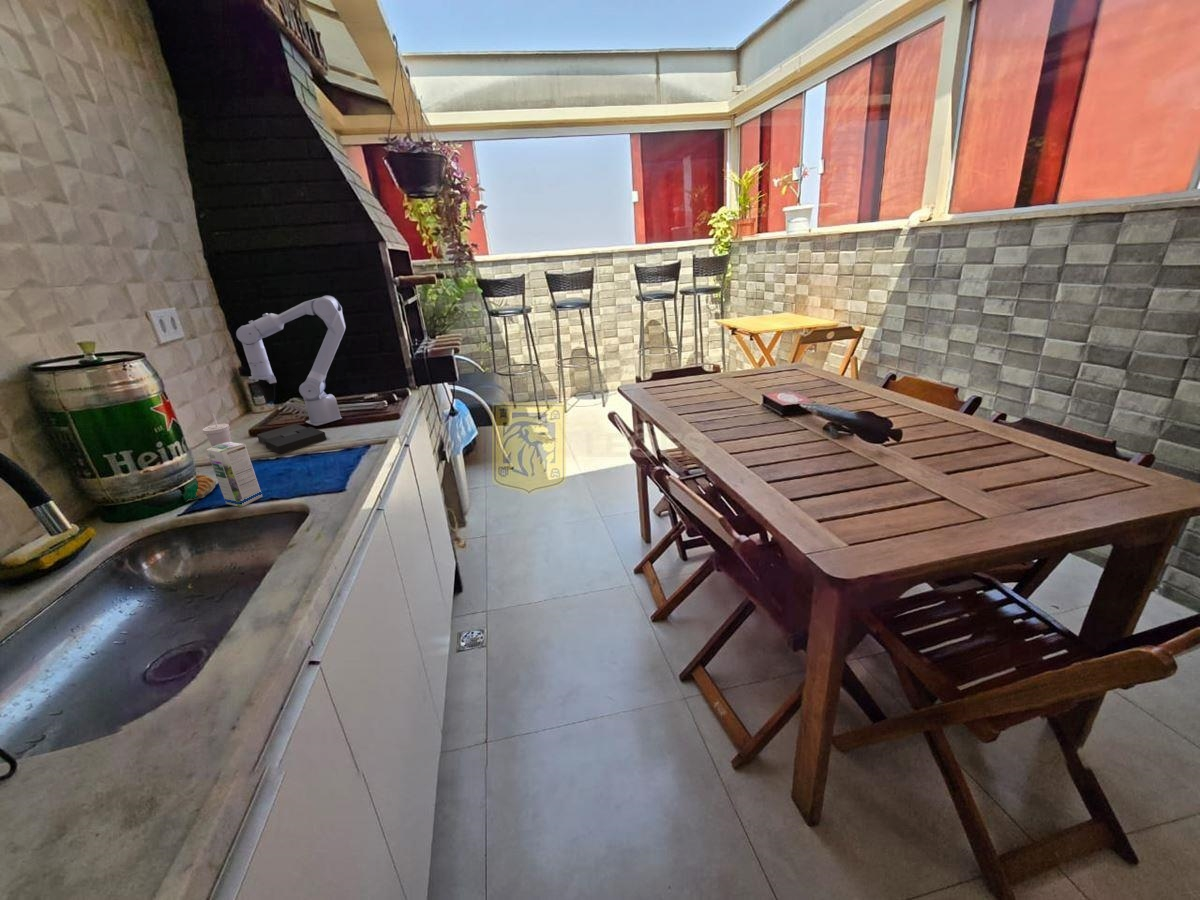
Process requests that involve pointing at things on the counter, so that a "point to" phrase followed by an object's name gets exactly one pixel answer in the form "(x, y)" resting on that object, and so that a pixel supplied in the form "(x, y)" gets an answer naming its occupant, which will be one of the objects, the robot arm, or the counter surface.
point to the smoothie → (217, 433)
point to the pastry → (204, 486)
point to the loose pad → (280, 432)
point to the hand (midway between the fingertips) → (271, 401)
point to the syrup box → (234, 472)
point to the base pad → (295, 440)
